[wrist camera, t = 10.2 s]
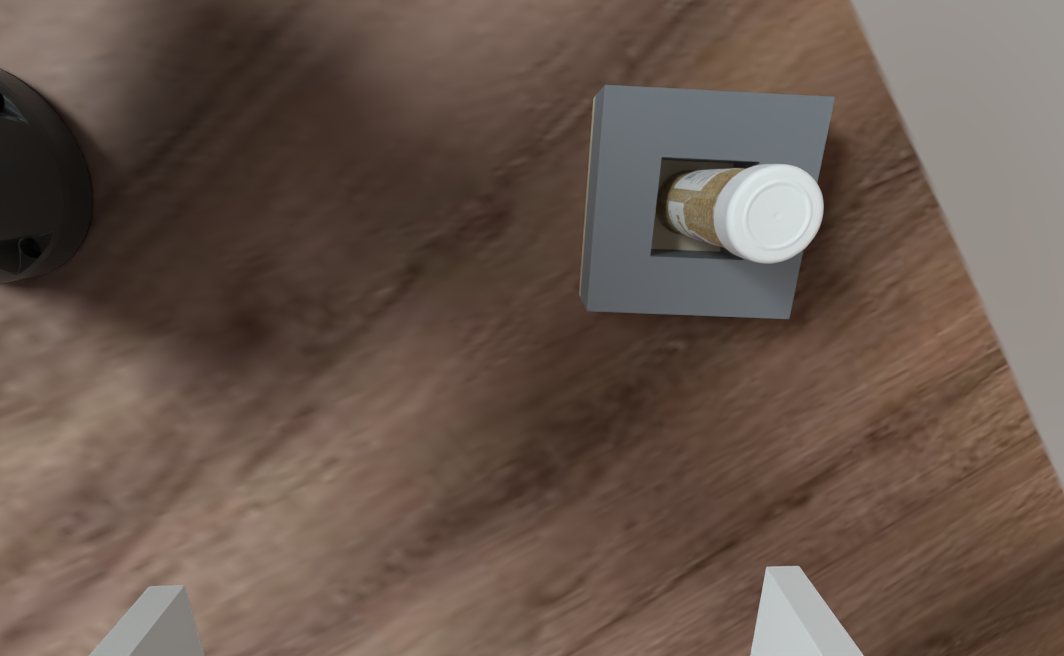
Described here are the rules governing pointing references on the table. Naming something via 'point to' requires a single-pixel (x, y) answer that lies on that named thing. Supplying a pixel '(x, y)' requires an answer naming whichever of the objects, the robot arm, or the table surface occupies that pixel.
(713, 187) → the sprinkles bottle
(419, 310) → the table surface
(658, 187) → the socket block
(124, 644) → the robot arm
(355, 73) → the table surface
